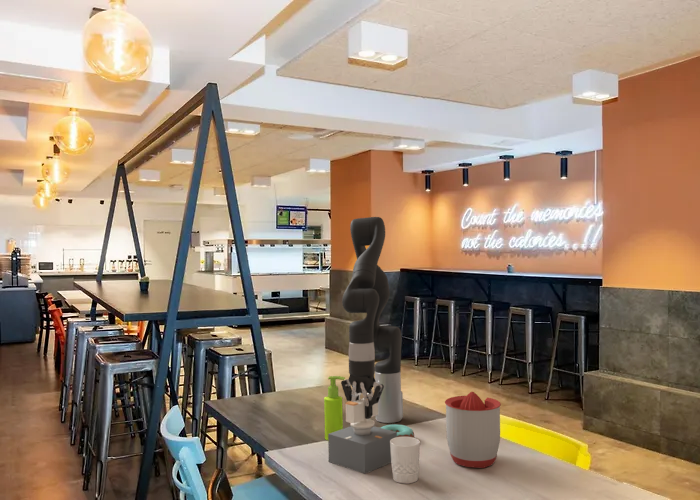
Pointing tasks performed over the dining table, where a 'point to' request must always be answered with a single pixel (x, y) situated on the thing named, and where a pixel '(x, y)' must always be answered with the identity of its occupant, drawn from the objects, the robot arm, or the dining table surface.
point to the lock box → (360, 448)
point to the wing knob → (359, 414)
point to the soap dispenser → (333, 408)
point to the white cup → (405, 459)
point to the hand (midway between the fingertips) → (362, 416)
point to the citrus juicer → (473, 430)
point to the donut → (400, 430)
